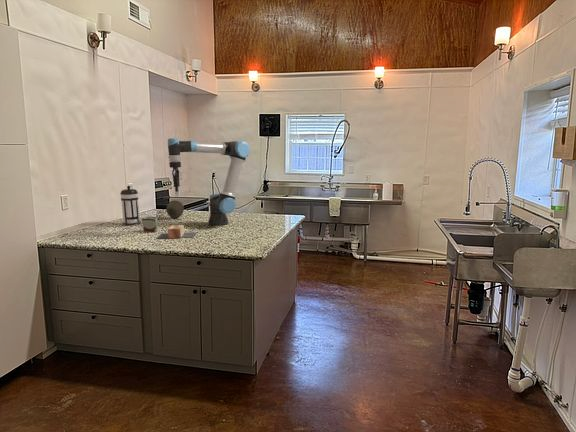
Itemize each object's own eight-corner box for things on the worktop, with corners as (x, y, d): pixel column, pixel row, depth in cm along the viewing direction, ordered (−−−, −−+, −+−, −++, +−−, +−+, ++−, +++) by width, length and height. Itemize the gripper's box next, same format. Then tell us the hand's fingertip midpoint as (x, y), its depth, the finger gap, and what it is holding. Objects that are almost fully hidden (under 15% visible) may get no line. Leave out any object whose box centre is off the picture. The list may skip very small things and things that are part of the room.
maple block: (180, 237, 265) (184, 233, 277) (180, 228, 264) (183, 225, 276) (168, 238, 265) (172, 233, 277) (167, 229, 264) (171, 225, 275)
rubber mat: (196, 232, 281) (196, 232, 281) (193, 237, 267) (193, 236, 267) (161, 233, 279) (161, 233, 279) (156, 238, 266) (156, 237, 265)
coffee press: (116, 225, 310) (112, 186, 304) (131, 221, 324) (128, 184, 319) (133, 227, 303) (130, 187, 298) (148, 223, 318) (145, 185, 312)
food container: (162, 230, 289) (161, 217, 288) (156, 232, 284) (155, 218, 282) (147, 229, 293) (146, 216, 292) (142, 231, 288) (141, 217, 286)
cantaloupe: (164, 218, 337) (163, 200, 334) (180, 216, 345) (179, 199, 342) (170, 220, 325) (169, 202, 323) (187, 218, 334) (186, 200, 331)
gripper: (171, 161, 278) (173, 195, 282) (167, 162, 265) (170, 197, 270) (182, 160, 278) (184, 194, 283) (178, 161, 266) (181, 197, 270)
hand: (177, 196), depth 276 cm, fingers closed
